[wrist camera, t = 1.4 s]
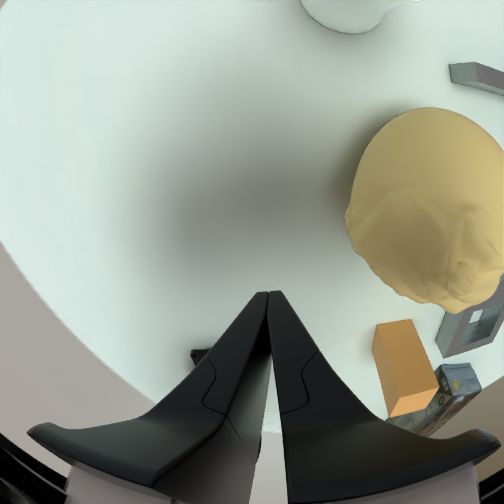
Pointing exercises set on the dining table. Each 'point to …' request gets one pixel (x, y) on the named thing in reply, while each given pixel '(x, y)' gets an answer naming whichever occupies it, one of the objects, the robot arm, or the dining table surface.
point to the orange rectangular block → (403, 368)
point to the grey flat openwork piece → (500, 303)
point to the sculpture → (431, 208)
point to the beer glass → (350, 13)
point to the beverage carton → (442, 400)
